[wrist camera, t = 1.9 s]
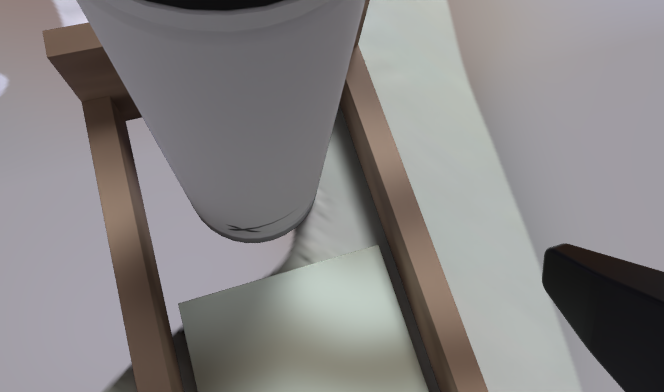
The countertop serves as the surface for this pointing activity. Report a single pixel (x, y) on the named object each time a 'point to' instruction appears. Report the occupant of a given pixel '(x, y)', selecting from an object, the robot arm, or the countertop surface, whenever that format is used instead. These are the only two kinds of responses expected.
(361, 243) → the countertop surface
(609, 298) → the robot arm
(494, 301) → the countertop surface
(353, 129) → the shelf lane
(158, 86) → the travel mug
